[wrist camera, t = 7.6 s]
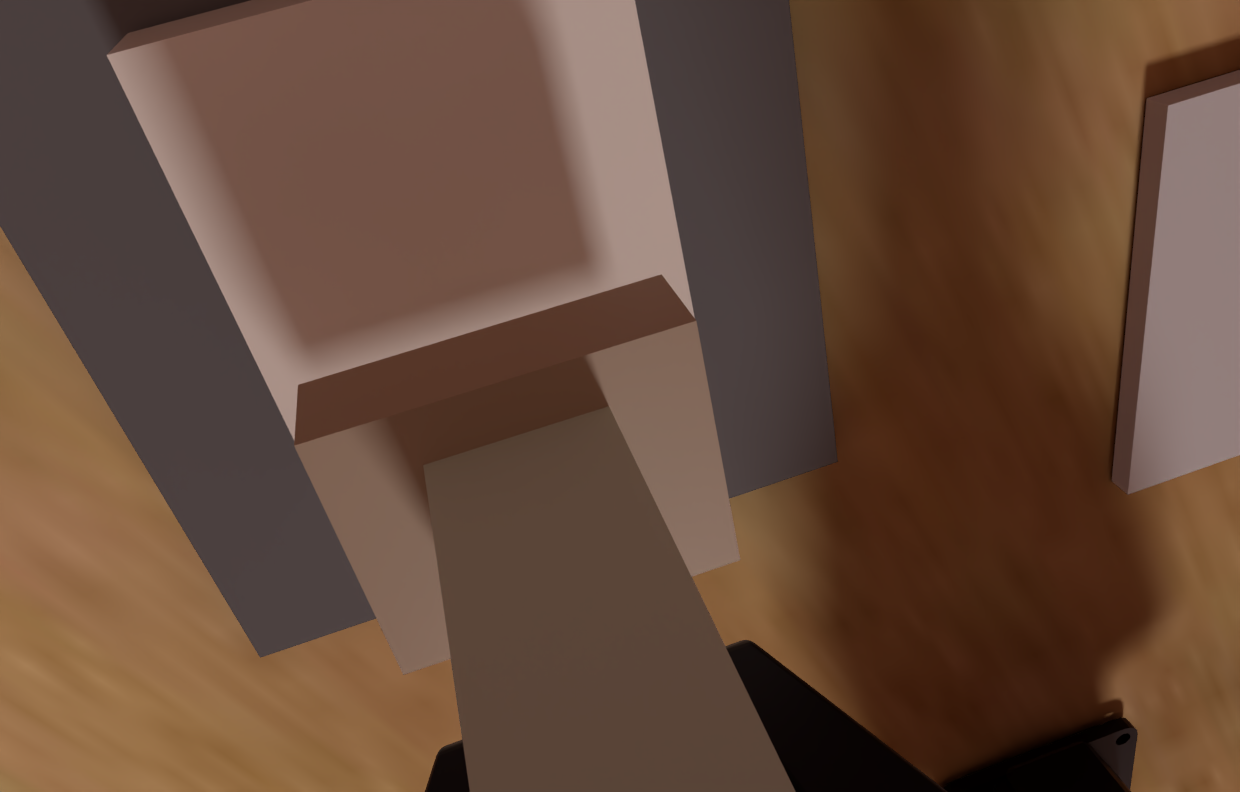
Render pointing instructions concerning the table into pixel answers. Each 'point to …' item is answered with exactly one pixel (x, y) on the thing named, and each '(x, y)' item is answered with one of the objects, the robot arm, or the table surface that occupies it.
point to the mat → (223, 364)
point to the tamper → (550, 542)
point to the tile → (405, 166)
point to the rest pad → (1183, 290)
